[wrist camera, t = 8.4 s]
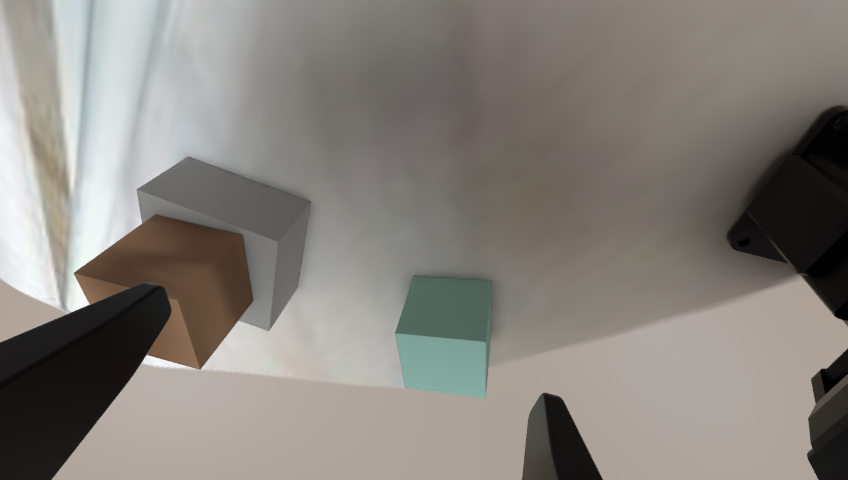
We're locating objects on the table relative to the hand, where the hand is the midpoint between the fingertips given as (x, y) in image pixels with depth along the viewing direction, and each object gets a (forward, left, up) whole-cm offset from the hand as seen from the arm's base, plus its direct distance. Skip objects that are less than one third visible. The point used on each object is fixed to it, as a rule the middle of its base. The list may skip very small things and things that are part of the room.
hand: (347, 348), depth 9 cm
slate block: (+10, +8, -12) cm, 18 cm away
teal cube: (-3, +10, -12) cm, 16 cm away
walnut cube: (+10, +8, -8) cm, 15 cm away
